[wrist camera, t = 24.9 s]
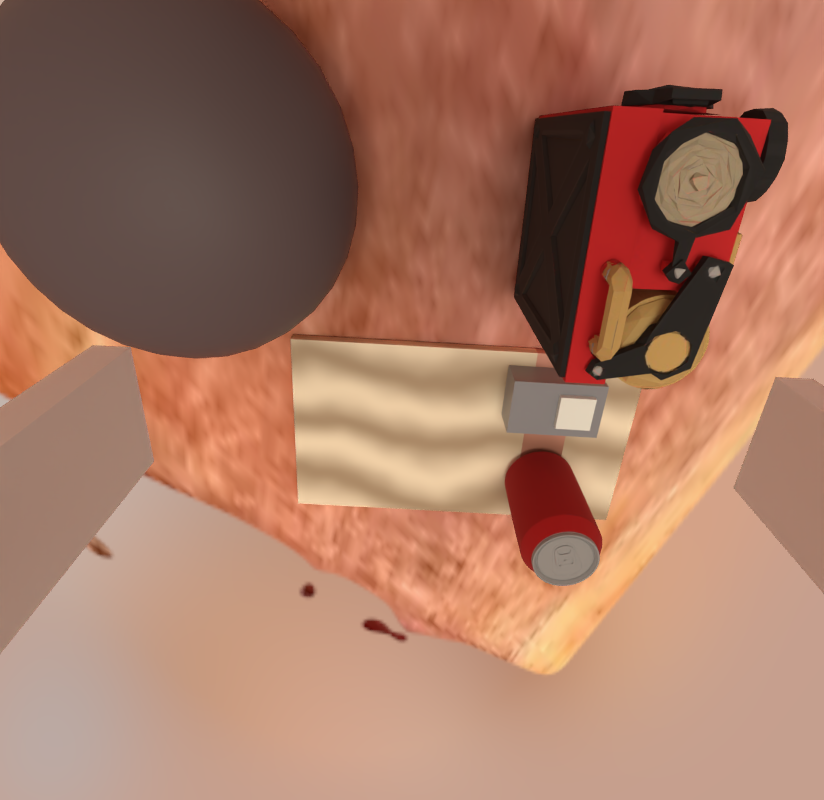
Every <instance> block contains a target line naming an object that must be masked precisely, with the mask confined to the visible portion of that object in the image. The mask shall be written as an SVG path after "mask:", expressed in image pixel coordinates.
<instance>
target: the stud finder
mask: <svg viewBox="0 0 824 800" xmlns="http://www.w3.org/2000/svg"><path fill="white" fill-rule="evenodd" d="M608 390H609V386H608V385H607V383H606V382H605V384H588V383H568V382H565V381H564V380H563V378H562V377H559V376H558V374H557V372H556V370H555V369H554V368H549V367H533V366H516V365H509V367H508V374H507V381H506V387H505V394H504V400H503V407H502V418H503V421H504V425H505V428H506V432H507V433H523V434H539V435H556V436H573V437H589V438H597V434H598V430H599V426H600V422H601V418H602V414H603V410H604V406H605V402H606V398H607V394H608Z"/></svg>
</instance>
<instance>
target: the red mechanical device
mask: <svg viewBox="0 0 824 800" xmlns="http://www.w3.org/2000/svg"><path fill="white" fill-rule="evenodd" d="M721 98H722V89H702V88H690V87H682V86H674V85H666V86H661V87H657V88H653V89H649V90H632V91H624V96H623V100H622V105H621V106H614V105H613V106H606V107H599V108H592V109H585V110H578V111H570V112H563V113H556V114H549V115H542V116H540V117H539V118H537V119H536V120H535V127H534V136H533V145H532V153H531V161H530V170H529V178H528V186H527V194H526V203H525V211H524V219H523V228H522V236H521V244H520V253H519V261H518V269H517V278H516V285H515V294H514V298H515V300H516V301H517V303H518V305H519V307H520V309H521V310H522V312H523V314H524V316H525V317H526V319H527V321H528V323H529V324H530V326H531V328H532V330H533V332H534V333H535V335H536V337H537V339H538V340H539V342H540V344H541V346H542V347H543V349H544V351H545V353H546V355H547V356H548V358H549V360H550V362H551V363H552V365H553V367H554V369H555V370H556V372H557V374H558V376H559V377H562V378H563V380H564V381H565V382H568V383H588V384H605V381H606V379H610V378H619V379H620V380H621V381H623V382H624V383H626V384H628V385H630V386H633V387H636V388H641V389H658V388H662V387H665V386H668V385H671V384H673V383H675V382H677V381H679V380H681V379H682V378H684V377H685V376H686V375H688V374H689V373H690V372H691V371H692V370H694V369H695V368H696V366H697V365H698V363H699V362H700V360H701V359H702V357H703V355H704V353H705V351H706V349H707V346H708V342H709V324H710V321H711V319H712V316H713V314H714V312H715V309H716V307H717V304H718V302H719V300H720V297H721V295H722V292H723V290H724V288H725V285H726V283H727V280H728V278H729V276H730V274H731V271H732V268H733V266H734V265H733V264H734V261H735V257H736V254H737V251H738V248H739V245H740V241H741V238H742V234H740V233H739V232H738V231H739V227H740V224H741V220H742V217H743V214H744V210H745V207H746V204H747V202H752V201H756V200H757V199H758V198H760V197H761V196H762V195H763V194H764V193H765V192H766V191H767V190H768V188H769V187H770V186H771V184H772V183H773V181H774V180H775V178H776V177H777V175H778V172H779V170H780V168H781V166H782V164H783V162H784V160H785V154H786V148H787V142H788V122H787V121H786V119H785V118H784V116H783V114H782V113H781V112H779V111H777V110H776V109H774V108H766V109H753V110H749V111H746V112H744V113H743V114H742V116H741V117H740V118H737V117H722V116H706V115H719V114H709V113H706V109H713V104H715V103H717V102H719V101H721ZM691 114H694V115H691Z"/></svg>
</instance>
